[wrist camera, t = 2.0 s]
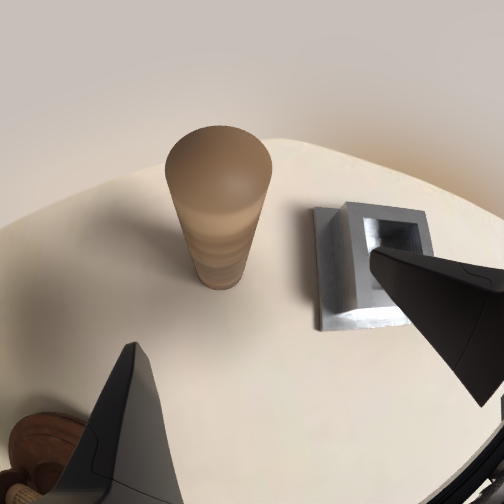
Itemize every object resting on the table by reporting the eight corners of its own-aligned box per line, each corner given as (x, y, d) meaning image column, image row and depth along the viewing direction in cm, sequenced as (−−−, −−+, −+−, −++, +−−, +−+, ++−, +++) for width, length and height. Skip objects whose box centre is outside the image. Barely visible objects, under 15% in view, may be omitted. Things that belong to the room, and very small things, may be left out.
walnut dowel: (229, 298, 20) (239, 232, 8) (188, 275, 21) (143, 182, 8) (251, 258, 22) (289, 151, 9) (211, 237, 22) (203, 113, 9)
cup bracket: (421, 322, 21) (451, 316, 17) (320, 331, 20) (341, 328, 16) (407, 218, 24) (431, 200, 20) (312, 210, 23) (328, 185, 20)
